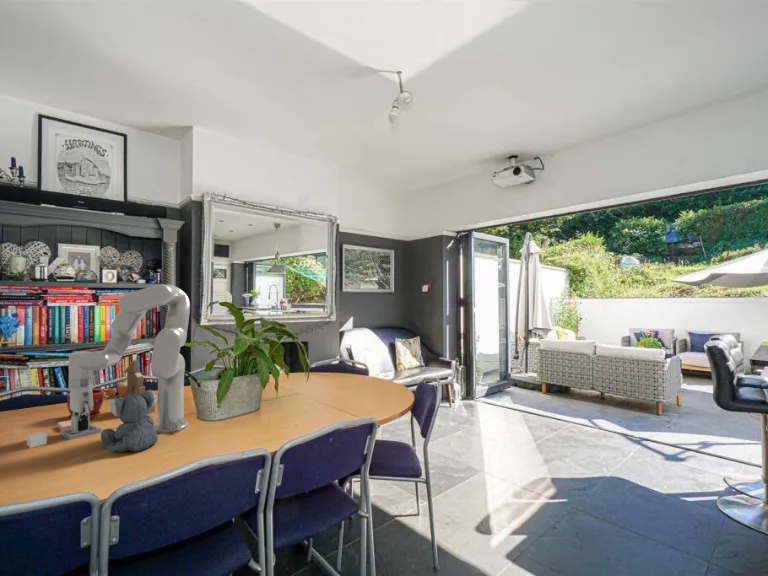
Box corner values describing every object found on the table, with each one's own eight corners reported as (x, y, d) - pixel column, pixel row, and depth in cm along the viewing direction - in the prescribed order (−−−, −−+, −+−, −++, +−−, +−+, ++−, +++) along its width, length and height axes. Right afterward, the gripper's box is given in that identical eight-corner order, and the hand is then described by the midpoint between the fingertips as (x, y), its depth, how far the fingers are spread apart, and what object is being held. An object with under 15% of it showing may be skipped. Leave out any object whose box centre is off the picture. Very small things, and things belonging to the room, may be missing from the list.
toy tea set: (137, 391, 225) (137, 374, 225) (138, 396, 212) (138, 379, 212) (80, 398, 210) (80, 380, 210) (78, 404, 197) (78, 386, 197)
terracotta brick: (76, 431, 157) (76, 424, 157) (62, 434, 154) (62, 427, 154) (71, 426, 163) (71, 419, 163) (57, 429, 159) (57, 422, 159)
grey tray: (100, 433, 154) (100, 428, 154) (69, 441, 145) (69, 436, 145) (90, 428, 159) (90, 424, 159) (59, 436, 151) (59, 431, 151)
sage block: (89, 429, 153) (89, 414, 153) (75, 433, 149) (75, 417, 149) (84, 427, 155) (84, 413, 155) (71, 431, 151) (71, 415, 152)
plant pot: (83, 423, 166) (83, 396, 166) (59, 422, 168) (59, 394, 169) (110, 414, 179) (110, 388, 179) (87, 413, 181) (87, 387, 182)
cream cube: (46, 446, 141) (46, 434, 141) (30, 450, 137) (30, 437, 137) (42, 443, 143) (43, 431, 143) (26, 447, 140) (27, 435, 140)
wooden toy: (155, 411, 183) (156, 359, 183) (142, 415, 176) (143, 361, 177) (132, 408, 188) (132, 357, 188) (119, 412, 182) (119, 360, 182)
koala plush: (150, 434, 153) (151, 384, 153) (169, 444, 141) (169, 391, 142) (98, 447, 139) (98, 393, 140) (114, 460, 128) (114, 401, 128)
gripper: (100, 383, 151) (100, 430, 151) (83, 378, 160) (83, 422, 160) (77, 387, 145) (77, 435, 144) (61, 382, 154) (60, 427, 154)
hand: (80, 428), depth 152 cm, fingers closed on sage block, 4 cm apart
